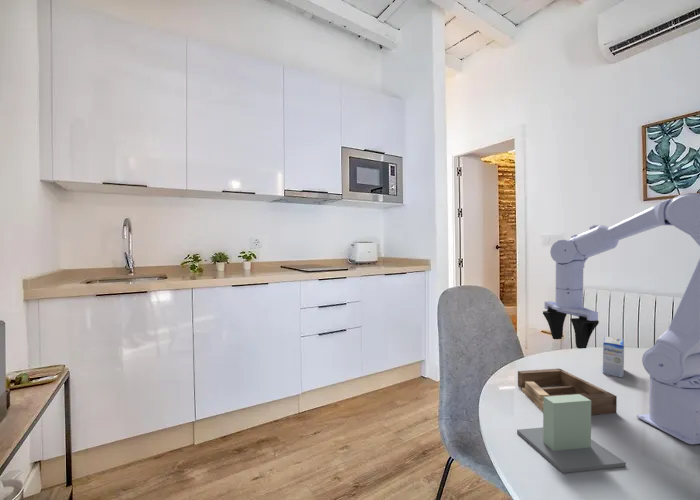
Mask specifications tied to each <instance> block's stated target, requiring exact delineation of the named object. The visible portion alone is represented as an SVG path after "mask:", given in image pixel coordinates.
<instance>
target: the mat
mask: <svg viewBox="0 0 700 500" xmlns="http://www.w3.org/2000/svg"><path fill="white" fill-rule="evenodd" d="M516 433H517V434H518V435H519V436H520V437H521V438H522V439H523V440H524V441H526V442H527V443H528V444H529V445H530V446H531V447H533V449H535V450H536V451H537V452H538V453H539V454H540V455H541V456H543V457H544V458H545V459H546V460H547V461H548V462H549V463H550V464H552V465H553V466H554V467H555V468H556V469H557V470H559V471H560V472H561V473H562V474H569V473H577V472H587V471H594V470H595V471H596V470H604V469H613V468H623V467H627V466H626V465H627V463H626V461H624V460H622V459H621V458H620V457H618V456H617V455H616V454H614V453H612V452H611V451H609V450H608V449H606V448H605V447H603V446H602V445H600V444H599V443H598V442H597V441H594V439H592V438H591V447H588V448H578V449H568V450H558V451H553V450H552V449H551V448H549V447H548V446H547V445H546V444H544V443H543V426H542V427H534V428H533V427H532V428H521V429H516Z"/></svg>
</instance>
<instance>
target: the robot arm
mask: <svg viewBox="0 0 700 500" xmlns="http://www.w3.org/2000/svg"><path fill="white" fill-rule="evenodd" d="M661 226H668V227H669V226H670V227H671V226H673V227H675V228H676V229H679V230H680V231H682V232H684V233H685V234H687V235H689V237H691V238H692V239H693V240H694V241H695V243H696V245H698V246H699V247H700V193H697V192H686V193H682V194H679V195H677V196H675V197H674V198H669V199H666V200H662V201H660V202H658V203H657V204H656V205H653V206H651V207H649V208H647V209H645V210H643V211H641V212H639V213H636V214H634V215H633V216H630V217H628V218H626V219H624V220H621V221H620V222H618V223H615V224H614V225H611V226H607V225H603V224H600V225H599V224H598V225H597V224H596V225H595V224H594V225H591V226H589V230H587V231H584V232H581V233H580V234H572V235H571V236H570V239H569V240H567V239H558V240H557V241H555V242H554V243H553V244H552V245H551V247H550V256H551V258H552V260H553V261H554V262H555V301H544V309H545V310H543V311H542V315H543V316H544V318H545V319H546V322H547V324H548V327H549V329H550V330H549V331H550V335H551V339H553V340H562V338H563V334H564V324H565V319H566V317H567V315H569V316H574V317H573V318H570V322H571V324H572V327H573V330H574V338H575V341H574V342H575V348H576V349H579V350H580V349H587V348H588V344H589V341H590V339H591V335H592V333H593V332H594V330H595V329H596V327H597V326H598V325H599V322H600V321H599V312H598V311H596V310H591V309H590V308H587V307H585V306H584V269H585V264H586V261H587V260H588V259H589V258H591V257H593V256H594V257H595V256H597V255H600V254H603V253H605V252H608V251H610V250H613V249H615V248H616V247H617V246H618V244H619V241H621V240H623V239H627V238H628V237H632V236H635V235H638V234H640V233H643V232H647V231H650V230H652V229H655V228H659V227H661ZM641 359H642V360H641V362H642V366H643V368H644V370H645V371H646V373H647V374H648V375H649V404H648V405H649V408H648V411H649V412H648V413H642V414H637V415H636V417H637V418H638V419H639V420H642V421H644V422H645V423H647V424H648V425H651V426H653V427H655V428H657V429H659V430H661V431H662V432H665V433H667V434H668V435H670V436H672V437H674V438H676V439H678V440H680V441H682V442H683V443H686V444H688V445H699V444H700V258H699V260H698V261H697V264H696V266H695V268H694V270H693V272H692V275H691V277H690V280H689V282H688V284H687V286H686V289H685V291H684V293H683V294H682V298H681V300H680V302H679V305H678V307H677V308H676V310H675V313H674V315H673V318H672V320H671V322H670V324H669V326H668V329H666V331H664V332H663V333H662V334H661V335H660V336H659V337H658V338H657V339H656V341H655V343H654V345H653V346H652V347H650V348H648V349H647V350H646V351H644V353H643V354H642V358H641Z"/></svg>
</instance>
